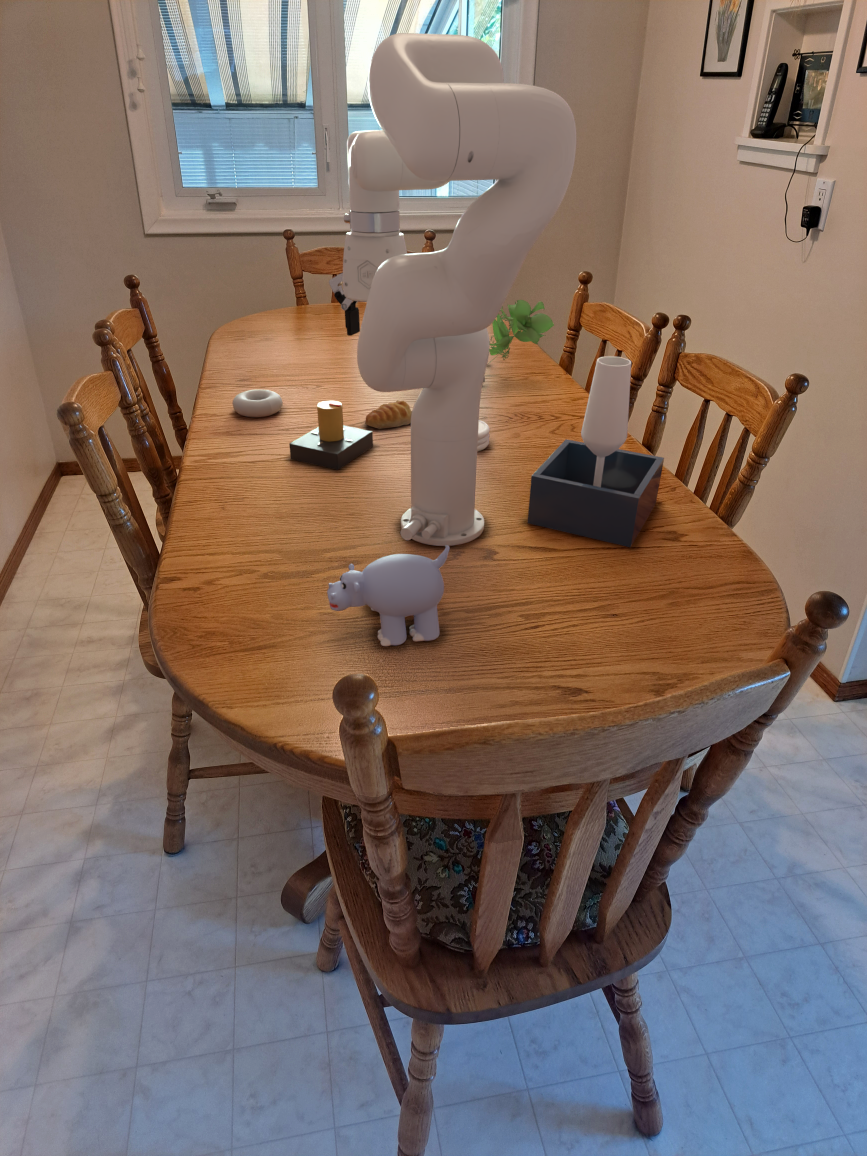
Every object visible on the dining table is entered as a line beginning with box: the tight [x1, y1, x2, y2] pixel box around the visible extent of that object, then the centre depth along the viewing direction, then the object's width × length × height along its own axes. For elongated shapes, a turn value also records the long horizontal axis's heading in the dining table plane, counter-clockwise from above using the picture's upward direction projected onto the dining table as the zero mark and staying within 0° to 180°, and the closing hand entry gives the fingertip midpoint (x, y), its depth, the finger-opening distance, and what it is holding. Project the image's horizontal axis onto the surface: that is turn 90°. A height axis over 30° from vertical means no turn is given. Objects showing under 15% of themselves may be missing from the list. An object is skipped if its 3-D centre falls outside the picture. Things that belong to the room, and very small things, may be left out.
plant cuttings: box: [483, 299, 555, 383], centre depth 174 cm, size 35×17×22 cm
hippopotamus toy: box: [326, 545, 451, 647], centre depth 94 cm, size 11×15×10 cm
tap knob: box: [316, 400, 344, 442], centre depth 138 cm, size 4×4×6 cm
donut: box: [232, 388, 283, 418], centre depth 158 cm, size 10×4×10 cm
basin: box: [527, 439, 665, 548], centre depth 120 cm, size 16×16×8 cm
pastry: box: [364, 400, 412, 430], centre depth 153 cm, size 9×7×4 cm
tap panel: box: [288, 424, 374, 471], centre depth 140 cm, size 12×10×3 cm
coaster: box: [477, 419, 491, 452], centre depth 144 cm, size 10×10×4 cm
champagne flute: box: [580, 355, 632, 487], centre depth 115 cm, size 7×7×24 cm
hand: (379, 336), depth 128 cm, fingers open, 9 cm apart
